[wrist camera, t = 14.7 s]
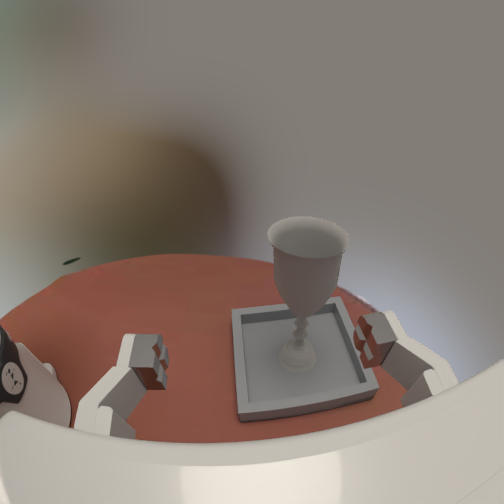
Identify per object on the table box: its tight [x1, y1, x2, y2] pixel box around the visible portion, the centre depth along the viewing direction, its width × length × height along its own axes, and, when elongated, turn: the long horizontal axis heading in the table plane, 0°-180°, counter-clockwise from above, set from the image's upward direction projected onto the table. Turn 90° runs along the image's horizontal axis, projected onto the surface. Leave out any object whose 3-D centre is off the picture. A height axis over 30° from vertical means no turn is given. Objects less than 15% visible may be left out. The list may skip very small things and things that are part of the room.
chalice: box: [267, 216, 350, 373], centre depth 29 cm, size 7×7×18 cm
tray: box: [232, 296, 379, 423], centre depth 33 cm, size 16×16×3 cm
